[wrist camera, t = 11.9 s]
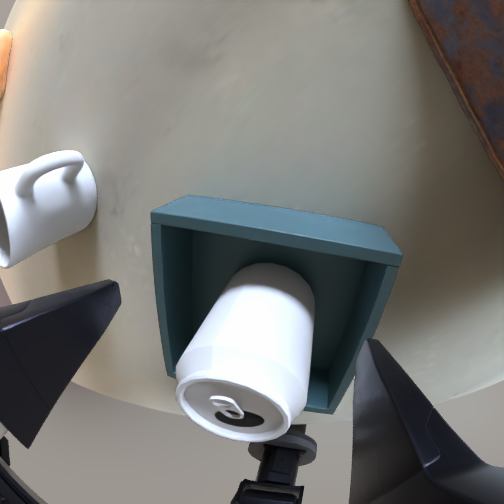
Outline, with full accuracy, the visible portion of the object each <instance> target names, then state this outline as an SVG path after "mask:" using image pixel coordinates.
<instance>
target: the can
mask: <svg viewBox="0 0 504 504" xmlns="http://www.w3.org/2000/svg"><path fill="white" fill-rule="evenodd" d="M314 319H315V297H314V295H313V293H312V290H311V288H310V286H309V284H308V283H307V282H306V281H305V280H304V279H303V278H302V277H301V276H300V275H299V274H298V273H296V272H294V271H293V270H291V269H289V268H288V267H285V266H281V265H278V264H274V263H256V264H253V265H250V266H247V267H245V268H242V269H241V270H240V271H239V272H237V273H236V274H235V275H234V276H232V278H231V280H230V281H229V283H228V284H227V286H226V287H225V289H224V290H223V292H222V294H221V295H220V297H219V298H218V300H217V301H216V303H215V304H214V306H213V308H212V309H211V311H210V312H209V314H208V315H207V317H206V319H205V320H204V322H203V323H202V325H201V326H200V328H199V329H198V331H197V333H196V334H195V336H194V337H193V339H192V340H191V342H190V344H189V345H188V347H187V348H186V350H185V351H184V353H183V355H182V356H181V358H180V360H179V362H178V364H177V365H176V380H177V382H178V386H177V388H176V389H175V395H176V401H177V403H178V404H179V406H180V408H181V410H182V411H183V412H184V413H185V415H186V416H187V417H188V418H189V419H190V420H192V421H193V422H194V423H196V424H197V425H199V426H200V427H202V428H203V429H205V430H207V431H209V432H211V433H214V434H216V435H218V436H221V437H224V438H227V439H231V440H236V441H243V442H264V441H268V440H273V439H276V438H278V437H279V436H281V435H283V434H284V433H286V432H287V430H288V428H289V427H290V425H291V421H292V420H294V419H295V418H297V417H298V416H300V414H301V412H302V411H303V409H304V407H305V406H306V401H307V393H308V384H309V375H310V366H311V356H312V344H313V332H314Z"/></svg>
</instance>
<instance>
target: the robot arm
mask: <svg viewBox="0 0 504 504" xmlns="http://www.w3.org/2000/svg"><path fill="white" fill-rule="evenodd" d="M120 305H121V295H120V289H119V284H118V283H117V282H116V281H113V280H104V281H100V282H96V283H93V284H89V285H85V286H81V287H78V288H74V289H70V290H66V291H63V292H59V293H55V294H51V295H48V296H44V297H40V298H36V299H33V300H29V301H25V302H21V303H18V304H14V305H9V306H4V307H0V504H47V503H46V502H45V501H44V500H43V499H42V498H40V497H39V496H38V495H37V494H36V493H35V492H34V491H33V490H31V489H30V488H29V487H28V486H27V485H26V484H25V483H24V482H23V481H22V480H21V479H20V478H19V477H18V476H17V475H16V474H15V473H14V471H12V469H11V468H10V467H9V466H10V458H9V445H8V440H7V439H6V437H5V436H4V435H5V434H6V432H7V431H8V430H9V431H10V432H11V433H12V434H13V435H14V436H15V437H16V438H17V439H18V440H19V441H20V442H21V443H22V444H23V445H24V446H25V447H26V448H27V449H29V447H30V446H31V444H32V442H33V441H34V439H35V437H36V435H37V434H38V432H39V430H40V428H41V427H42V425H43V423H44V422H45V420H46V418H47V417H48V415H49V414H50V411H51V410H52V408H53V407H54V405H55V403H56V402H57V400H58V399H59V397H60V395H61V394H62V393H63V391H64V390H65V388H66V387H67V385H68V384H69V382H70V381H71V379H72V378H73V376H74V375H75V373H76V372H77V370H78V369H79V367H80V366H81V364H82V363H83V362H84V360H85V359H86V357H87V356H88V354H89V353H90V352H91V350H92V349H93V347H94V346H95V345H96V343H97V342H98V341H99V339H100V338H101V336H102V335H103V333H104V332H105V330H106V328H107V327H108V325H109V323H110V322H111V320H112V318H113V317H114V315H115V313H116V312H117V310H118V309H119V307H120ZM306 453H307V451H306V450H300V449H293V448H287V447H281V446H275V445H270V444H263V446H262V449H261V452H260V455H259V458H258V460H260V461H261V463H260V466H259V470H258V473H257V477H256V480H255V481H250V480H247V479H244V480H243V481H241V483H240V485H239V488H238V491H237V493H236V494H235V496H234V497H233V499H232V501H231V504H301V503H302V497H303V491H304V486H295V482H296V477H297V472H298V466H299V464H300V462H301V461H302V459H303V458H304V456H305V455H306ZM297 497H298V498H297ZM349 504H504V468H502V467H495V466H492V465H489V464H486V463H485V462H484V461H482V460H481V459H480V458H479V457H478V456H477V455H476V454H475V453H474V452H473V451H472V450H471V449H470V448H469V447H468V446H467V444H466V443H465V442H463V440H462V439H461V438H460V437H459V436H458V435H457V434H456V433H455V432H454V430H453V429H452V428H451V427H450V426H449V425H448V424H447V422H446V421H445V420H444V419H443V417H442V416H441V415H440V414H439V413H438V411H437V410H436V409H435V408H433V405H432V404H431V403H430V401H429V400H428V399H427V398H426V396H425V395H424V394H423V393H422V391H421V390H420V389H419V388H418V387H417V385H416V384H415V383H414V382H413V380H412V379H411V378H410V377H409V376H408V374H407V373H406V372H405V371H404V370H403V368H402V367H401V366H400V365H399V364H398V363H397V361H396V360H395V359H394V358H393V357H392V355H391V354H390V353H389V352H388V351H387V350H386V348H385V347H384V346H383V345H382V344H381V343H380V341H379V340H377V339H369V338H367V339H366V340H365V341H364V343H363V346H362V348H361V350H360V352H359V354H358V357H357V361H356V372H355V384H354V395H353V451H352V471H351V485H350V497H349Z"/></svg>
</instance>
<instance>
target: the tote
mask: <svg viewBox="0 0 504 504" xmlns="http://www.w3.org/2000/svg"><path fill="white" fill-rule="evenodd" d="M151 241H152V258H153V272H154V284H155V294H156V304H157V312H158V320H159V328H160V335H161V342H162V349H163V355H164V361H165V367H166V371H167V376H170V377H173V378H175V379H176V365H177V364H178V362H179V360H180V358H181V356H182V355H183V353H184V351H185V350H186V348H187V347H188V345H189V344H190V342H191V340H192V339H193V337H194V336H195V334H196V333H197V331H198V329H199V328H200V326H201V325H202V323H203V322H204V320H205V319H206V317H207V315H208V314H209V312H210V311H211V309H212V308H213V306H214V304H215V303H216V301H217V300H218V298H219V297H220V295H221V294H222V292H223V290H224V289H225V287H226V286H227V284H228V283H229V281H230V280H231V278H232V276H234V275H235V274H236V273H237V272H239V271H240V270H241V269H242V268H245V267H247V266H250V265H253V264H256V263H274V264H278V265H281V266H285V267H288V268H289V269H291V270H293V271H294V272H296V273H298V274H299V275H300V276H301V277H302V278H303V279H304V280H305V281H306V282H307V283H308V284H309V286H310V288H311V290H312V293H313V295H314V297H315V319H314V332H313V344H312V356H311V366H310V375H309V384H308V393H307V401H306V406H305V407H304V409H303V411H310V412H317V413H324V414H333V413H334V412H335V410H336V408H337V406H338V405H339V403H340V401H341V399H342V398H343V396H344V394H345V392H346V390H347V389H348V387H349V385H350V383H351V381H352V379H353V377H354V375H355V372H356V361H357V357H358V354H359V352H360V350H361V348H362V346H363V343H364V341H365V340H366V339H367V338H369V339H372V337H373V335H374V333H375V330H376V328H377V326H378V323H379V321H380V318H381V316H382V313H383V311H384V308H385V306H386V303H387V300H388V298H389V295H390V292H391V289H392V287H393V284H394V281H395V278H396V275H397V272H398V269H399V266H400V263H401V260H402V257H403V254H402V253H401V251H400V250H399V248H398V247H397V245H396V244H395V243H394V241H393V240H392V238H391V237H390V235H389V234H388V233H387V231H386V230H385V228H384V227H381V226H377V225H372V224H367V223H362V222H357V221H352V220H347V219H342V218H337V217H332V216H326V215H321V214H315V213H310V212H304V211H298V210H292V209H286V208H280V207H273V206H267V205H260V204H254V203H247V202H240V201H233V200H225V199H218V198H210V197H202V196H194V195H186V196H184V197H182V198H179V199H177V200H175V201H173V202H170V203H168V204H166V205H164V206H162V207H159V208H157V209H155V210H153V211H151Z"/></svg>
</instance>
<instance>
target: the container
mask: <svg viewBox="0 0 504 504" xmlns="http://www.w3.org/2000/svg"><path fill="white" fill-rule="evenodd" d="M409 2H410V5H411V7H412V10H413V12H414V15H415V17H416V19H417V21H418V22H419V24H420V26H421V28H422V30H423V32H424V34H425V36H426V38H427V40H428V42H429V44H430V46H431V48H432V50H433V52H434V54H435V57H436V59H437V61H438V63H439V64H440V66H441V68H442V70H443V71H444V73H445V75H446V77H447V78H448V80H449V82H450V84H451V86H452V88H453V90H454V92H455V94H456V96H457V98H458V100H459V102H460V104H461V106H462V108H463V110H464V112H465V114H466V115H467V117H468V119H469V120H470V122H471V124H472V125H473V127H474V129H475V131H476V133H477V134H478V136H479V138H480V140H481V142H482V144H483V146H484V148H485V150H486V152H487V154H488V156H489V157H490V159H491V160H492V162H493V164H494V165H495V167H496V168H497V170H498V172H499V173H500V175H501V176H502V178H503V180H504V0H409Z"/></svg>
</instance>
